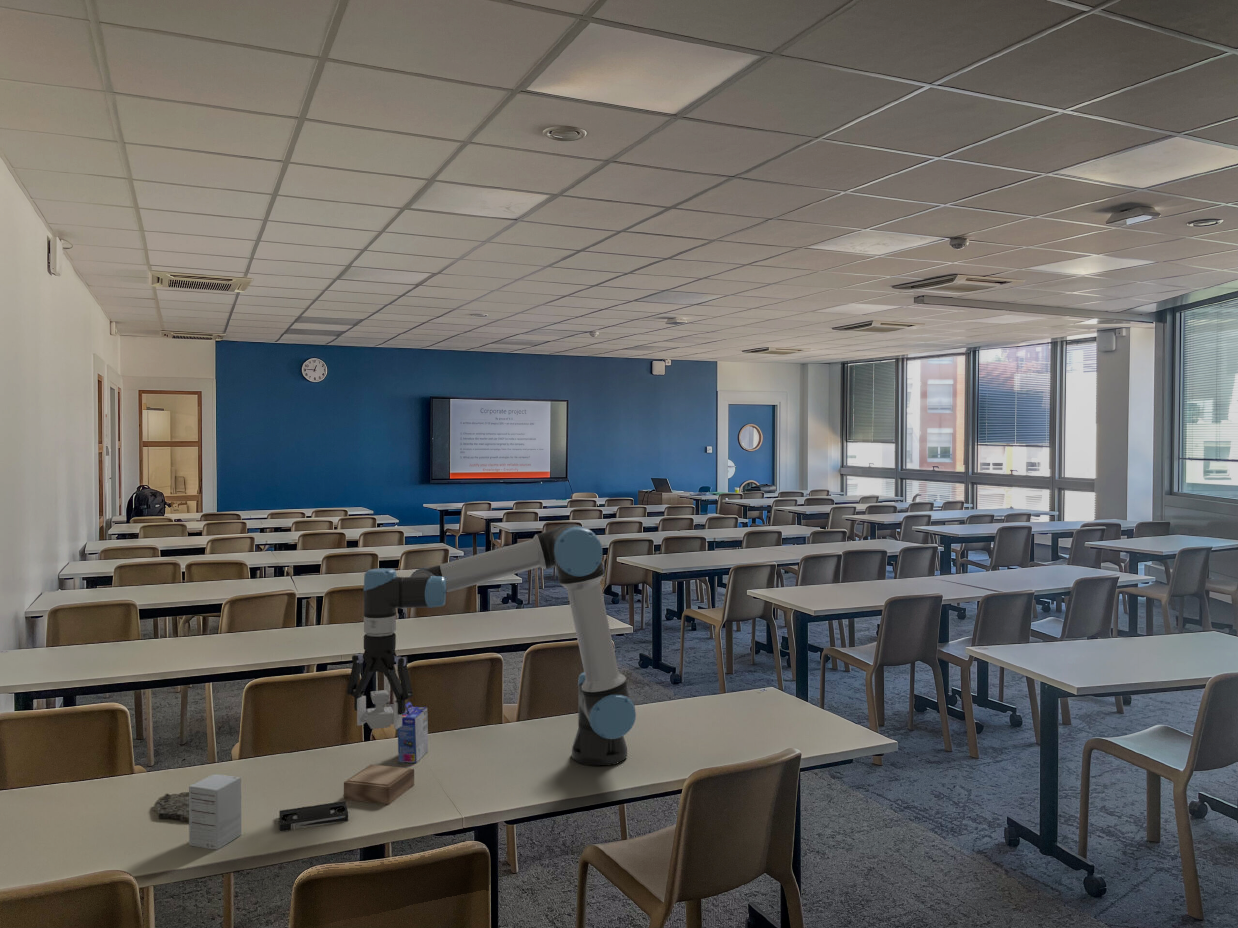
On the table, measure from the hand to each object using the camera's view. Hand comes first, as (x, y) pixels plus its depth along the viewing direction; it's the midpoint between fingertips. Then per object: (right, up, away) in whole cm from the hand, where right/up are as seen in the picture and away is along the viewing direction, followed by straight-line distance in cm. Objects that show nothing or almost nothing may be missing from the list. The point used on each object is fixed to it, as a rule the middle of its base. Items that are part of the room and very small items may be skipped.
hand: (379, 725), depth 203 cm
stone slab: (-42, -17, -11) cm, 47 cm away
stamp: (0, -1, 0) cm, 1 cm away
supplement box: (-27, -17, -26) cm, 41 cm away
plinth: (0, -16, 0) cm, 16 cm away
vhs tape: (-10, -17, -15) cm, 25 cm away
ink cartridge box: (+2, -16, +24) cm, 29 cm away
